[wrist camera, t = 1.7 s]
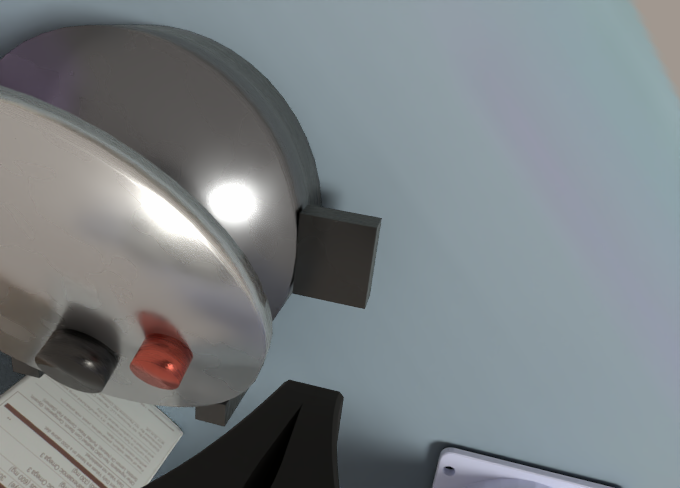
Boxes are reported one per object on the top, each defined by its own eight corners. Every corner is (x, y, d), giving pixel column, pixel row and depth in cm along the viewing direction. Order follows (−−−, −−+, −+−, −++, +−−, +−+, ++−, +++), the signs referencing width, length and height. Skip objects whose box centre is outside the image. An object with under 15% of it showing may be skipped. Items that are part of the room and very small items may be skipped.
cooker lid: (286, 420, 21) (270, 466, 20) (-21, 342, 23) (-52, 379, 22) (244, 122, 11) (208, 178, 10) (-285, 35, 13) (-366, 72, 12)
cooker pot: (361, 386, 24) (339, 456, 20) (-1, 300, 27) (-81, 347, 23) (412, 60, 19) (396, 69, 15) (-44, -3, 22) (-157, -9, 18)
